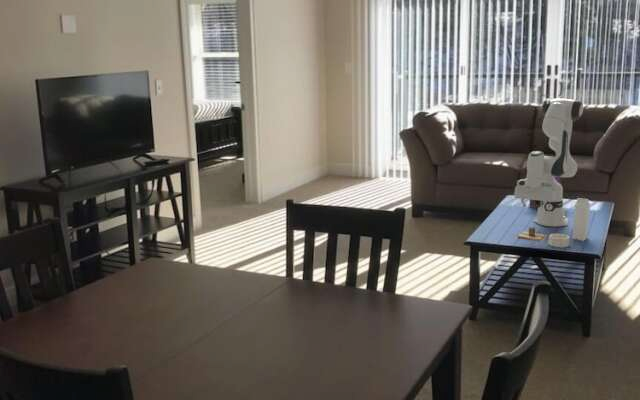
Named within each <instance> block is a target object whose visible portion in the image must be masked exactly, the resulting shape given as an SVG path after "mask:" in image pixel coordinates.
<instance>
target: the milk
mask: <svg viewBox="0 0 640 400" xmlns="http://www.w3.org/2000/svg"><path fill="white" fill-rule="evenodd" d="M590 209H591V203H590V202H589V199H588V198H582V197H581V198H580V197H577V198H576V202H575V204H574V215H573V216H574V217H573V232H572V239H573V240H576V239H577V240H576V241H581V242H582V241H583V242H584V241H585V240H587V239H588V236H589V235H588V234H589V222H590V221H589V220H590Z"/></svg>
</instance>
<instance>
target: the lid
mask: <svg viewBox="0 0 640 400" xmlns="http://www.w3.org/2000/svg"><path fill="white" fill-rule="evenodd" d="M519 234H520V235H519ZM519 234H518V235H517V236H516V237H517V238H521V239H520V240H524V239H528V240H527V241H531V240H536V241H535V242H539V241H541V240H542V239H543V238H544V237H545V236H546V235H547V234H546V233H541V232H536V227H534V226H532V227H531V226H530V227H528V231H526V230H522V232H521V233H519Z"/></svg>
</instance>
